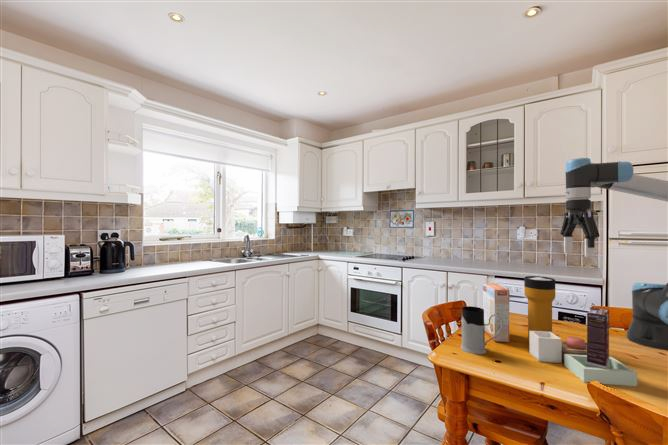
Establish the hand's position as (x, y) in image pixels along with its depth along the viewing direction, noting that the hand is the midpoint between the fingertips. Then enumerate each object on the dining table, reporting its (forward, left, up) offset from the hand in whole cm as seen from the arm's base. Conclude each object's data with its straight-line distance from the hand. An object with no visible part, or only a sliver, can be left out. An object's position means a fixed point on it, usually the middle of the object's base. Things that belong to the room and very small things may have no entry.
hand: (578, 254), depth 118 cm
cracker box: (+28, -5, -35) cm, 45 cm away
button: (+8, +13, -31) cm, 34 cm away
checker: (+8, +13, -35) cm, 38 cm away
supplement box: (+8, +25, -31) cm, 41 cm away
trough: (+8, +25, -35) cm, 44 cm away
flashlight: (+14, +1, -35) cm, 38 cm away
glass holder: (+38, +11, -35) cm, 53 cm away
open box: (+18, +14, -35) cm, 42 cm away
